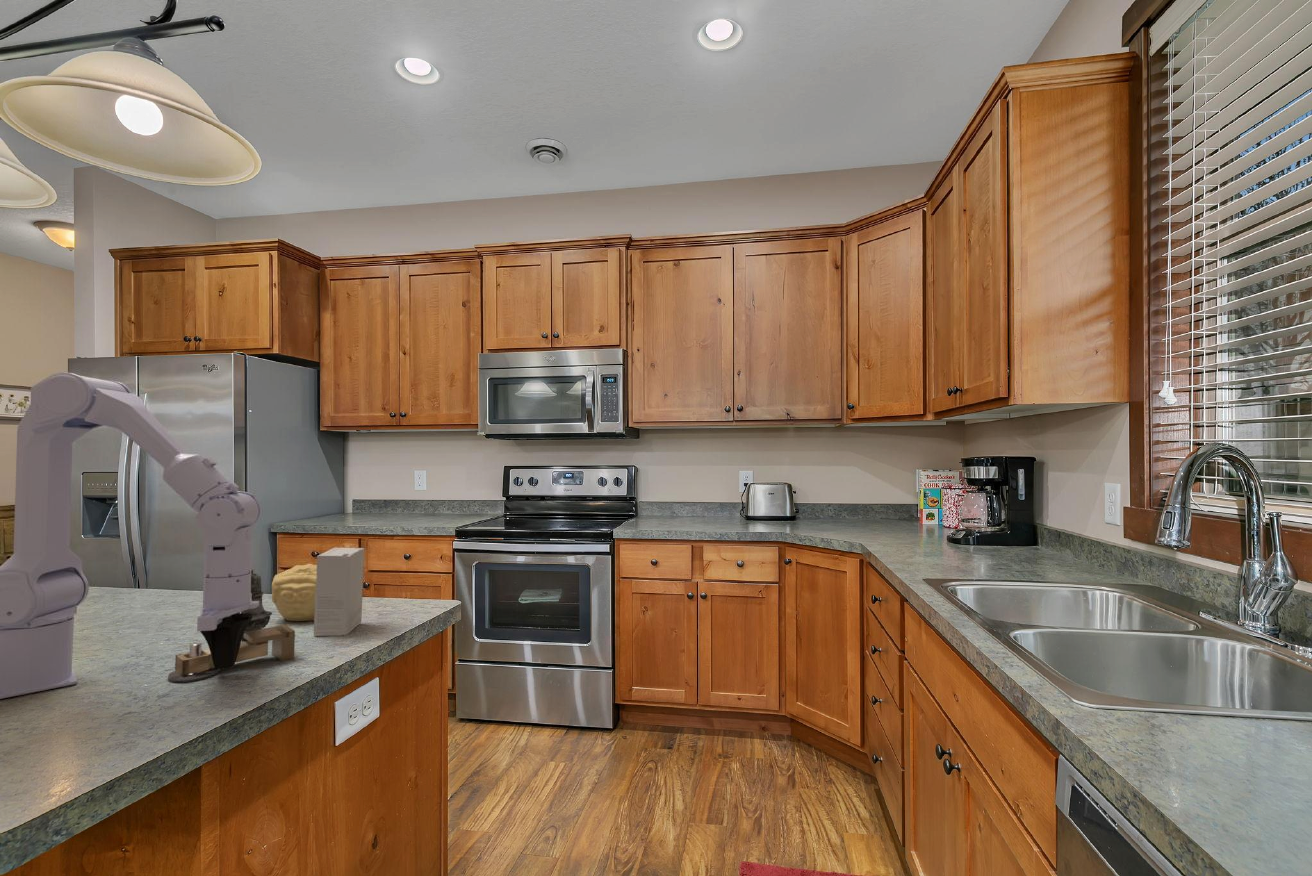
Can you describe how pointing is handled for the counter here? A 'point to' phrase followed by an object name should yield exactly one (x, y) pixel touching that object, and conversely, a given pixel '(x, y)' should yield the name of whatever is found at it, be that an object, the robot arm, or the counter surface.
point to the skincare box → (338, 591)
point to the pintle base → (178, 678)
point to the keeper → (275, 640)
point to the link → (205, 660)
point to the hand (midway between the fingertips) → (224, 667)
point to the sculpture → (295, 592)
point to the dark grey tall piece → (259, 614)
